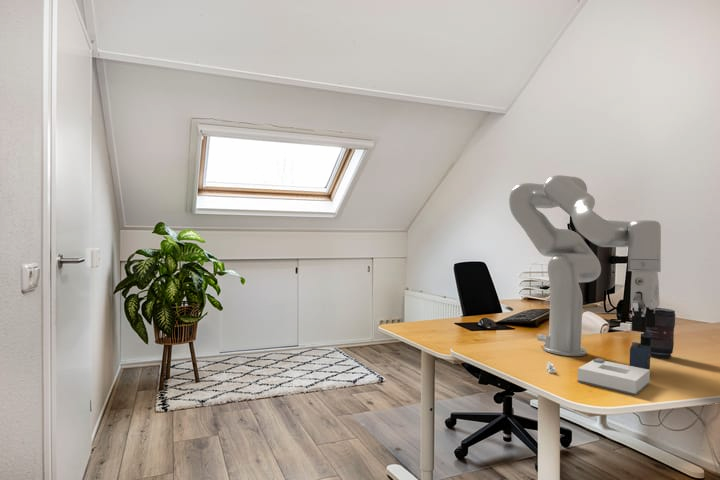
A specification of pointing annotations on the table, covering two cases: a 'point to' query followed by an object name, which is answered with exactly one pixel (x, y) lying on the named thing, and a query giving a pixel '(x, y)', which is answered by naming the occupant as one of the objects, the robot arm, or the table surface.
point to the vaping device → (641, 352)
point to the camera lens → (662, 333)
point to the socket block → (614, 376)
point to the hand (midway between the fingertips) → (643, 329)
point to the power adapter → (550, 368)
